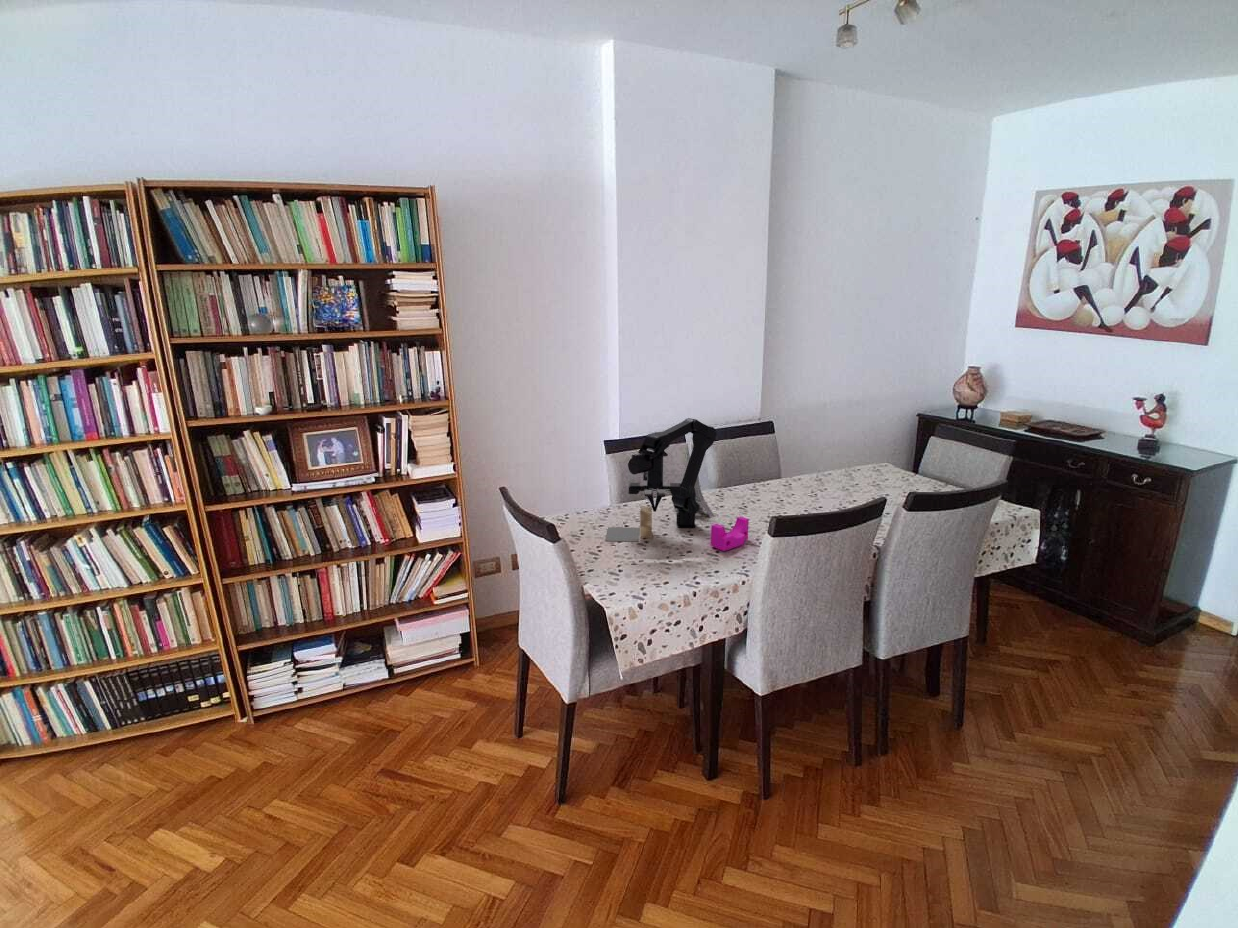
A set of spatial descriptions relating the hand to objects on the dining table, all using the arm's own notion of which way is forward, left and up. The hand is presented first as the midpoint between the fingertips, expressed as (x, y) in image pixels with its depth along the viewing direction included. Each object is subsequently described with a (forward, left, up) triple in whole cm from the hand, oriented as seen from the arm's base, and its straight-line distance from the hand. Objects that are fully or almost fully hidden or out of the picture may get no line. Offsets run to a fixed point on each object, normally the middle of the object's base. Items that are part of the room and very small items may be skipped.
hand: (654, 511), depth 230 cm
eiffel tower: (-15, -24, -10) cm, 30 cm away
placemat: (+12, 0, -9) cm, 15 cm away
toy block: (-27, +6, -10) cm, 30 cm away
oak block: (+3, 0, -9) cm, 10 cm away
